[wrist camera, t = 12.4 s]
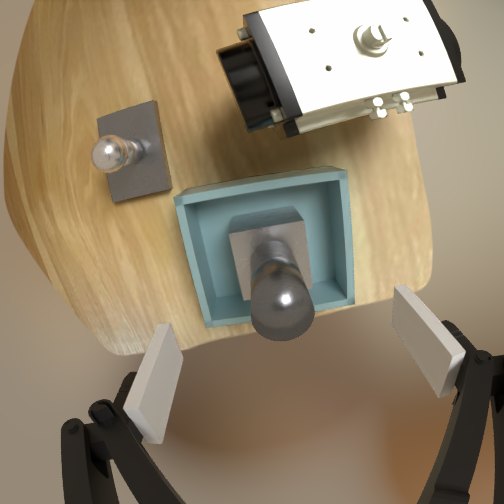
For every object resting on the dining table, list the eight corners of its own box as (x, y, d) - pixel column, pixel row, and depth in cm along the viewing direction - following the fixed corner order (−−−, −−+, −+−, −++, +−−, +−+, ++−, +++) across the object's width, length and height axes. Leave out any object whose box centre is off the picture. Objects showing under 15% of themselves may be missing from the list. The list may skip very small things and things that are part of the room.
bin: (186, 189, 32) (173, 197, 27) (329, 165, 32) (346, 170, 26) (212, 301, 37) (206, 327, 31) (339, 280, 36) (354, 304, 31)
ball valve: (253, 152, 31) (258, 155, 14) (226, 82, 28) (201, 15, 12) (398, 109, 29) (504, 96, 12) (373, 44, 26) (459, -13, 10)
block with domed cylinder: (244, 271, 35) (241, 362, 20) (232, 216, 33) (218, 277, 18) (301, 261, 34) (336, 345, 19) (292, 205, 32) (330, 256, 17)
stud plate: (102, 119, 29) (62, 115, 21) (157, 102, 29) (127, 89, 21) (118, 200, 33) (82, 217, 24) (172, 187, 32) (148, 201, 24)
